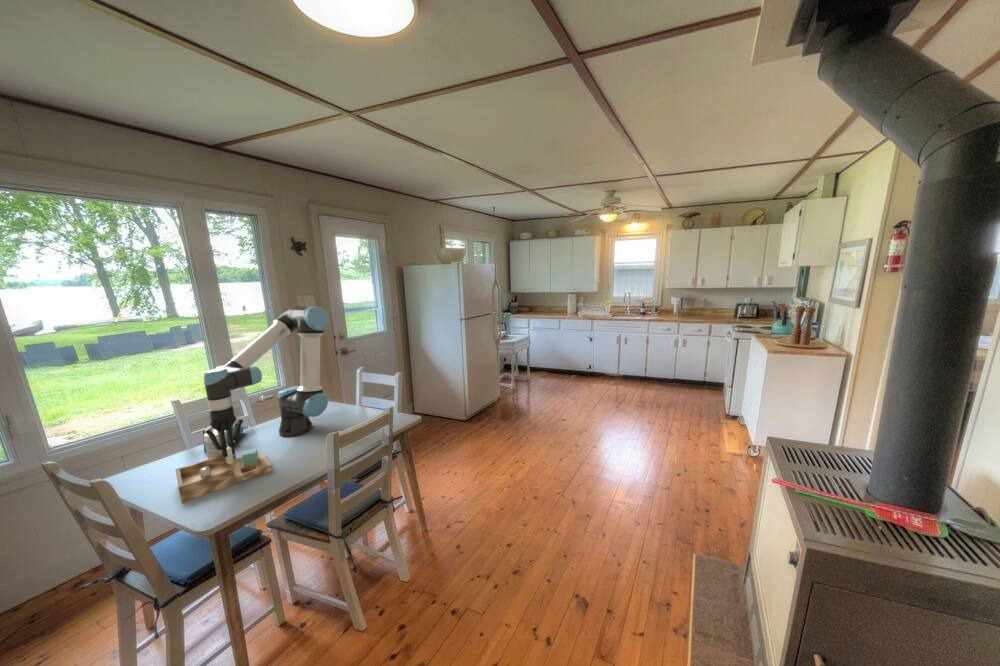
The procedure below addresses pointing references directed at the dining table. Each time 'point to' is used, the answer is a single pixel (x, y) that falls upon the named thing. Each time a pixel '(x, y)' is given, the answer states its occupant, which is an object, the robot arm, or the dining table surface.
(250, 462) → the cube
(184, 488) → the wooden tray
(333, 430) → the dining table surface
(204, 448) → the teal l-shaped bracket
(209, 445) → the supplement tub
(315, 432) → the dining table surface
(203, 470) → the silver metal knob
